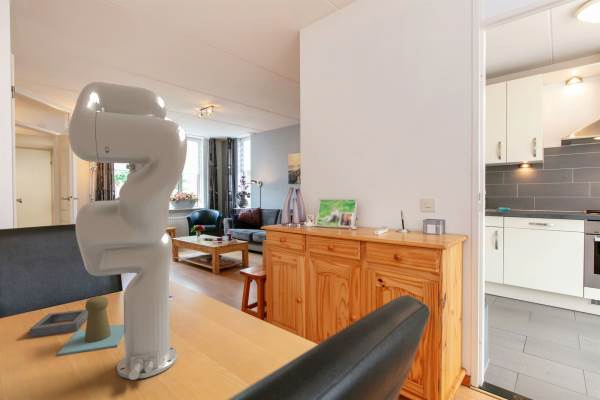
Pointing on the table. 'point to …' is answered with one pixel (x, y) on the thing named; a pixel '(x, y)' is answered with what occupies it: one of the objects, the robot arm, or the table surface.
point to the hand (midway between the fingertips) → (145, 225)
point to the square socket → (48, 328)
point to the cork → (97, 320)
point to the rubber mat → (80, 345)
